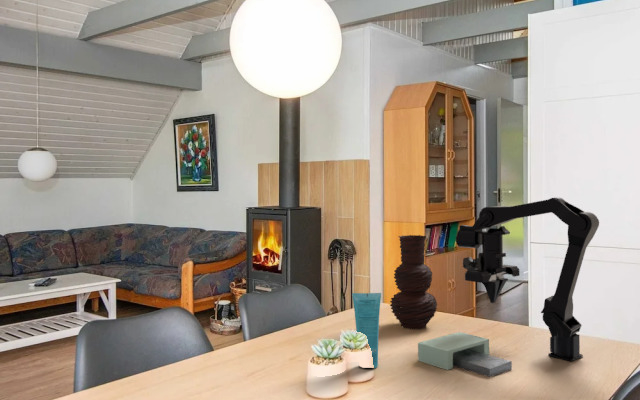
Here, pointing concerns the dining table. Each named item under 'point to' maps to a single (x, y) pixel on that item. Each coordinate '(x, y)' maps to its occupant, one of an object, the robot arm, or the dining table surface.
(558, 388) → the dining table surface
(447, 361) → the pale mint green box
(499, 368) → the grey flat block
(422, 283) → the vase
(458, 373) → the dining table surface
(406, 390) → the dining table surface
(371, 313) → the tube
